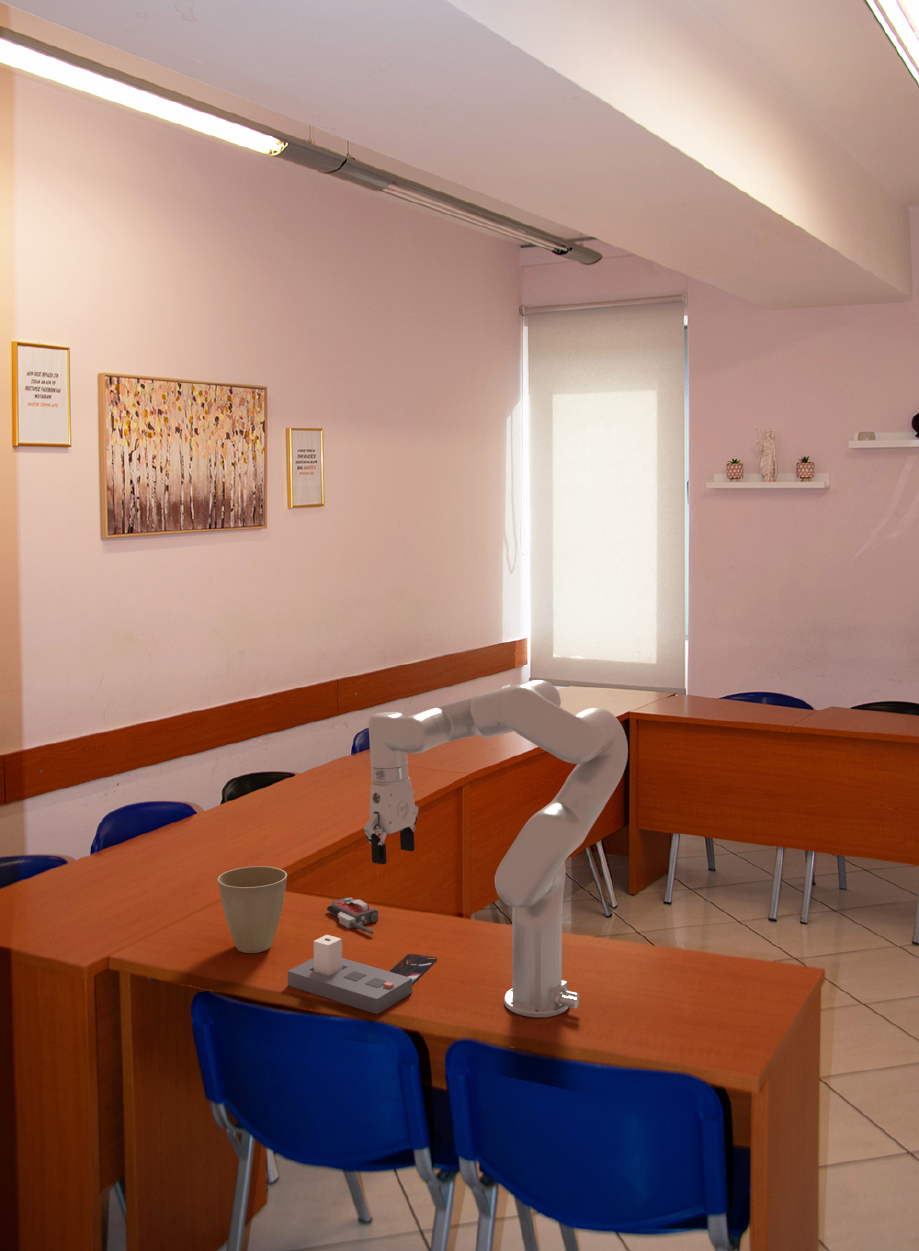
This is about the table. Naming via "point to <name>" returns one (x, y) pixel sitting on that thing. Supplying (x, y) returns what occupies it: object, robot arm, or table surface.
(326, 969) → the block
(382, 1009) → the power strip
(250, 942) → the plant pot
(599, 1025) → the table surface
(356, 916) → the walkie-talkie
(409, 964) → the smartphone
